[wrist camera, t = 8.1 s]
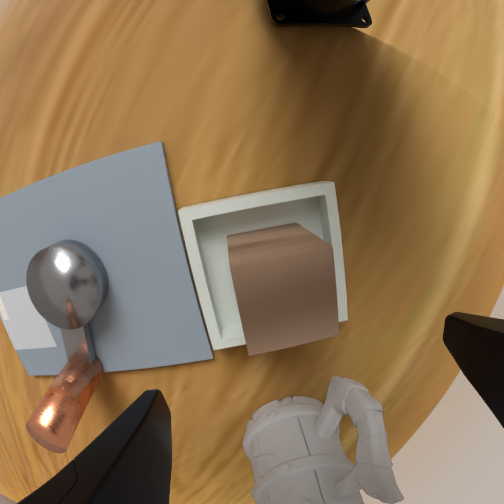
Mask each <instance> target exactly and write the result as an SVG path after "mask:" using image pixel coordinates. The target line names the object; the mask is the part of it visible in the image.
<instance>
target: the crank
mask: <svg viewBox="0 0 504 504" xmlns="http://www.w3.org/2000/svg"><path fill="white" fill-rule="evenodd" d="M26 284H27V290H28V294H29V297H30V299H31V302H32V303H33V305H34V307H35V308H36V310H37V311H38V313H39V314H40V315H41V316H42V317H43V318H44V319H45V320H46V321H48V322H49V323H51V324H52V325H54V326H56V327H59V328H61V332H62V337H63V342H64V347H65V351H66V355H67V359H68V361H67V362H66V364H65V365H64V367H63V368H62V370H61V371H60V373H59V374H58V375H57V377H56V378H55V380H54V381H53V383H52V384H51V386H50V387H49V389H48V390H47V392H46V393H45V395H44V396H43V398H42V399H41V401H40V403H39V404H38V406H37V407H36V409H35V410H34V412H33V414H32V415H31V417H30V418H29V420H28V422H27V424H26V428H27V431H28V432H29V434H30V435H31V437H32V438H33V439H34V440H35V441H36V442H37V443H38V444H40V445H41V446H43V447H44V448H46V449H48V450H50V451H52V452H56V453H64V452H66V451H67V448H68V446H69V444H70V441H71V439H72V437H73V435H74V433H75V430H76V428H77V426H78V424H79V422H80V419H81V417H82V415H83V413H84V411H85V409H86V407H87V405H88V403H89V401H90V398H91V396H92V394H93V392H94V390H95V388H96V386H97V384H98V382H99V380H100V378H101V376H102V374H103V366H102V364H101V362H100V360H99V359H98V358H97V357H96V356H95V353H94V347H93V342H92V336H91V330H90V323H89V320H90V319H91V318H92V317H93V316H94V314H95V313H96V312H97V311H98V309H99V308H100V307H101V306H102V304H103V303H104V301H105V299H106V296H107V291H108V279H107V274H106V271H105V268H104V266H103V264H102V262H101V260H100V258H99V257H98V256H97V254H96V253H95V252H94V251H93V250H92V249H91V248H89V247H88V246H87V245H85V244H84V243H81V242H79V241H76V240H61V241H59V242H56V243H54V244H52V245H50V246H48V247H46V248H44V249H42V250H40V251H39V252H37V253H36V254H35V255H34V256H33V258H32V259H31V261H30V263H29V265H28V268H27V274H26Z"/></svg>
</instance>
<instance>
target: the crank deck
mask: <svg viewBox="0 0 504 504" xmlns="http://www.w3.org/2000/svg"><path fill="white" fill-rule="evenodd" d="M61 240H76V241H79V242H81V243H84V244H85V245H87V246H88V247H89V248H91V249H92V250H93V251H94V252H95V253H96V254H97V256H98V257H99V258H100V260H101V262H102V264H103V266H104V268H105V271H106V274H107V279H108V291H107V296H106V299H105V301H104V303H103V304H102V306H101V307H100V308H99V309H98V311H97V312H96V313H95V314H94V316H93V317H92V318H91V319H90V320H89V323H90V330H91V336H92V342H93V347H94V353H95V356H96V357H97V358H98V359H99V360H100V362H101V364H102V366H103V372H114V371H124V370H134V369H143V368H152V367H160V366H168V365H175V364H182V363H189V362H195V361H201V360H207V359H213V350H212V347H211V344H210V340H209V337H208V333H207V330H206V326H205V323H204V319H203V316H202V312H201V308H200V305H199V301H198V297H197V293H196V289H195V286H194V282H193V278H192V274H191V270H190V266H189V262H188V258H187V254H186V249H185V245H184V241H183V237H182V232H181V228H180V224H179V219H178V215H177V210H176V205H175V201H174V196H173V191H172V186H171V181H170V176H169V171H168V166H167V161H166V156H165V150H164V145H163V142H162V141H160V142H156V143H152V144H148V145H144V146H141V147H137V148H134V149H130V150H127V151H123V152H120V153H117V154H113V155H110V156H107V157H104V158H101V159H98V160H95V161H92V162H89V163H86V164H83V165H80V166H77V167H74V168H71V169H69V170H66V171H63V172H61V173H58V174H55V175H53V176H50V177H48V178H45V179H43V180H40V181H38V182H35V183H33V184H31V185H28V186H26V187H24V188H21V189H19V190H17V191H15V192H12V193H10V194H8V195H6V196H4V197H1V198H0V316H1V319H2V321H3V324H4V326H5V328H6V330H7V333H8V335H9V337H10V339H11V342H12V344H13V346H14V348H15V350H16V351H17V354H18V356H19V358H20V359H21V361H22V363H23V365H24V367H25V369H26V371H27V373H28V375H29V376H32V375H58V374H59V373H60V371H61V370H62V368H63V367H64V365H65V364H66V362H67V361H68V359H67V355H66V351H65V347H64V342H63V337H62V332H61V328H59V327H56V326H54V325H52V324H51V323H49V322H48V321H46V320H45V319H44V318H43V317H42V316H41V315H40V314H39V313H38V311H37V310H36V308H35V307H34V305H33V303H32V302H31V299H30V297H29V294H28V290H27V284H26V274H27V268H28V265H29V263H30V261H31V259H32V258H33V256H34V255H35V254H36V253H37V252H39V251H40V250H42V249H44V248H46V247H48V246H50V245H52V244H54V243H56V242H59V241H61Z"/></svg>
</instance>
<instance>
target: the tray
mask: <svg viewBox="0 0 504 504" xmlns="http://www.w3.org/2000/svg"><path fill="white" fill-rule="evenodd" d="M178 213H179V218H180V222H181V227H182V231H183V235H184V240H185V244H186V248H187V252H188V257H189V261H190V265H191V269H192V273H193V277H194V281H195V285H196V288H197V292H198V296H199V300H200V304H201V307H202V311H203V315H204V318H205V322H206V326H207V329H208V333H209V336H210V340H211V343H212V347H213V350H218V349H223V348H229V347H234V346H239V345H244V344H246V342H245V337H244V333H243V328H242V323H241V319H240V314H239V309H238V305H237V300H236V295H235V291H234V286H233V281H232V276H231V271H230V266H229V255H228V245H227V235H231V234H236V233H242V232H247V231H252V230H257V229H263V228H268V227H273V226H279V225H284V224H290V223H295V222H296V223H298V224H300V225H301V226H303V227H304V228H306V229H307V230H309V231H310V232H312V233H313V234H315V235H316V236H318V237H319V238H321V239H322V240H324V241H325V242H327V243H328V244H330V245H331V246H333V254H334V264H335V275H336V288H337V302H338V318H339V322H342V321H346V320H348V312H347V296H346V282H345V270H344V259H343V248H342V239H341V230H340V221H339V213H338V205H337V198H336V191H335V184H334V182H330V181H318V182H312V183H305V184H299V185H293V186H287V187H282V188H276V189H270V190H265V191H259V192H254V193H249V194H243V195H238V196H233V197H228V198H223V199H218V200H213V201H208V202H204V203H199V204H194V205H190V206H185V207H182V208H181V209H180V210H179V211H178Z"/></svg>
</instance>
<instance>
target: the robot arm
mask: <svg viewBox="0 0 504 504" xmlns="http://www.w3.org/2000/svg"><path fill="white" fill-rule="evenodd" d="M265 1H266V5H267V9H268V12H269V16H270V20H271V22H272V24H274V25H275V26H278V27H288V26H339V27H356V28H367V27H369V26H370V25H371V24H372V20H371V17H370V14H369V11H368V9H367V6H366V3H367V2H368V1H369V0H265ZM276 17H281V18H282V19H283V20H282V21H280V20H277V18H276ZM362 19H363V20H365V22H366V23H365V22H363V21H362ZM443 341H444V344H445V346H446V347H447V349H448V350H449V352H450V353H451V355H452V356H453V358H454V359H455V361H456V363H457V364H458V366H459V367H460V369H461V370H462V372H463V374H464V375H465V376H466V378H467V379H468V380H469V382H470V383H471V384H472V386H473V387H474V388H475V390H476V391H477V392H478V394H479V395H480V396H481V397H482V399H483V400H484V402H485V403H486V404H487V406H488V407H489V408H490V410H491V411H492V412H493V414H494V415H495V417H496V418H497V419H498V420H499V422H500V423H501V425H502V427H503V428H504V320H503V319H497V318H491V317H485V316H479V315H473V314H467V313H461V312H454V313H452V314H450V315H448V316H447V317H446V319H445V325H444V333H443ZM171 468H172V437H171V413H170V409H169V407H168V405H167V403H166V401H165V399H164V396H163V394H162V392H161V391H160V390H158V389H154V390H146V391H145V392H144V393H143V394H142V395H141V396H139V397H138V398H137V399H136V400H135V401H134V402H133V403H132V404H131V405H130V406H129V407H128V408H127V409H126V410H125V411H124V412H123V413H122V414H121V415H120V416H119V417H118V418H117V419H116V420H115V421H113V422H112V423H111V424H110V425H109V426H108V427H107V428H106V429H105V430H104V431H103V432H102V433H101V434H100V435H99V436H98V437H97V438H96V439H94V440H93V441H92V442H91V443H90V444H89V445H88V446H87V447H86V448H85V449H84V450H83V451H82V452H81V453H79V454H78V455H77V456H76V457H75V458H74V460H72V461H71V462H70V463H69V464H67V465H66V466H65V467H64V468H63V469H62V470H61V471H60V472H58V473H57V474H56V475H55V476H54V477H53V478H51V479H50V480H49V481H47V482H46V483H45V484H43V485H42V486H41V487H39V488H38V489H37V490H35V491H34V492H33V493H31V494H30V495H28V496H27V497H25V498H24V499H23V500H21V501H20V502H18V503H17V504H169V494H170V481H171Z"/></svg>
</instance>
